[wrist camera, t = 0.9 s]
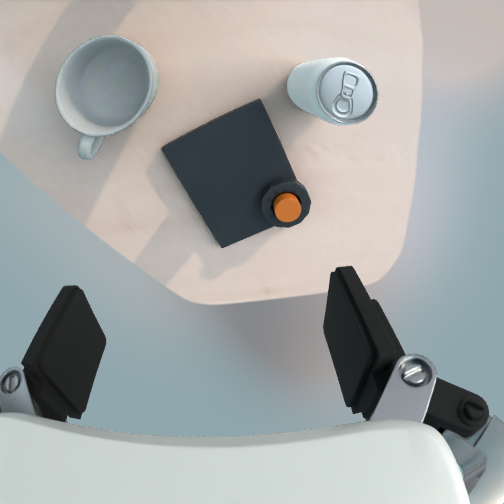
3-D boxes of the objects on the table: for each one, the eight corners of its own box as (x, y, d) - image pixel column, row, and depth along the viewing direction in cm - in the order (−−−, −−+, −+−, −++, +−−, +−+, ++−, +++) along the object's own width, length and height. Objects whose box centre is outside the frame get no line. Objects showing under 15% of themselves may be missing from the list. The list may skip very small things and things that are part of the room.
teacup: (113, 29, 24) (84, 21, 18) (185, 64, 28) (172, 60, 22) (65, 124, 30) (32, 139, 24) (129, 159, 34) (106, 181, 28)
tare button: (269, 198, 36) (270, 204, 35) (293, 188, 35) (295, 194, 34) (278, 219, 38) (280, 226, 36) (302, 209, 37) (305, 216, 36)
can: (280, 103, 32) (302, 116, 22) (293, 54, 28) (322, 45, 19) (330, 117, 33) (370, 138, 23) (343, 71, 30) (390, 73, 20)
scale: (163, 146, 34) (157, 152, 31) (263, 96, 31) (266, 98, 29) (222, 244, 42) (221, 256, 40) (311, 206, 40) (316, 216, 37)
